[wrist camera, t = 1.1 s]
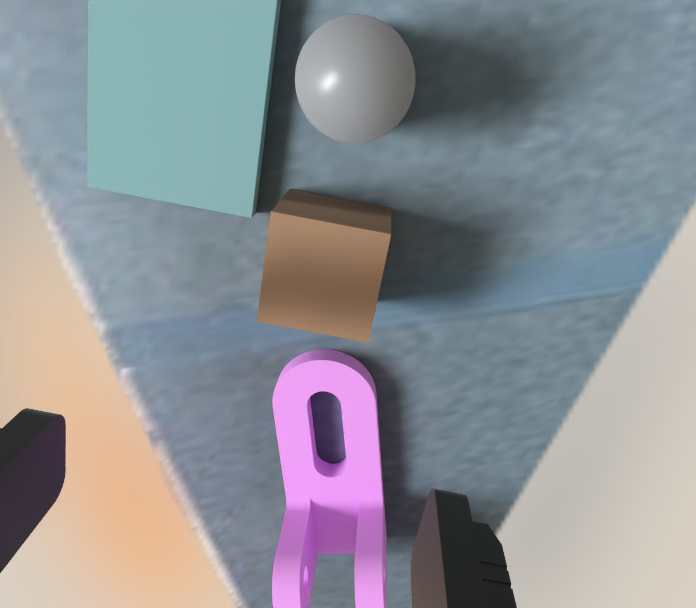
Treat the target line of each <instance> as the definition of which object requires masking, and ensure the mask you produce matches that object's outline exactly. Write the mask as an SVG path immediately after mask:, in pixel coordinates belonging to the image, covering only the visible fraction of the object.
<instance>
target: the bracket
mask: <svg viewBox="0 0 696 608" xmlns="http://www.w3.org/2000/svg"><path fill="white" fill-rule="evenodd" d="M320 391H326V392H330V393H332V394H334V395H335V396H336V397H337V398H338V399H339V401H340V403H341V409H342V419H343V430H344V440H345V450H346V458H345V459H344V460H343V461H342V462H339V463H335V464H332V463H327V462H325V461H323V460H322V459H320V457H319V456H318V454H317V451H316V442H315V434H314V426H313V417H312V409H311V401H310V396H311V395H313V394H314V393H316V392H320ZM273 412H274V419H275V426H276V432H277V439H278V446H279V453H280V459H281V466H282V473H283V480H284V487H285V493H286V512H285V516H284V520H283V525H282V529H281V533H280V537H279V541H278V546H277V550H276V554H275V559H274V566H273V578H272V599H273V608H309V606H310V599H311V592H312V586H313V579H314V572H315V566H316V559H317V554H340V553H355V603H356V608H386V584H387V533H386V519H385V505H384V492H383V478H382V464H381V450H380V436H379V422H378V409H377V395H376V387H375V383H374V381H373V378H372V376H371V374H370V373H369V371H368V370H367V369H366V368H365V367H364V365H362V364H361V363H360V362H359V361H358V360H356V359H355V358H353V357H352V356H350V355H348V354H345V353H343V352H339V351H335V350H327V349H321V350H313V351H309V352H306V353H303V354H301V355H299V356H297V357H296V358H294V359H293V360H292V361H290V362H289V363H288V364H287V365H286V366H285V368H284V369H283V371H282V372H281V374H280V377H279V379H278V382H277V385H276V387H275V390H274V394H273Z"/></svg>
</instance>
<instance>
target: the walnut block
mask: <svg viewBox="0 0 696 608" xmlns="http://www.w3.org/2000/svg"><path fill="white" fill-rule="evenodd" d="M390 238H391V208H389V207H383V206H378V205H373V204H368V203H362V202H357V201H352V200H347V199H341V198H336V197H331V196H325V195H320V194H315V193H310V192H304V191H299V190H294V189H289V191H288V192H287V193H286V194H285V195H284V197H283V198H282V199H281V200H280V201H279V203H278V204H277V205H276V206H275V207H274V209H273V210H272V211H271V215H270V223H269V231H268V239H267V246H266V254H265V262H264V270H263V278H262V285H261V293H260V301H259V309H258V317H257V322H262V323H267V324H272V325H278V326H283V327H288V328H294V329H299V330H304V331H309V332H315V333H320V334H325V335H331V336H336V337H341V338H346V339H352V340H357V341H362V342H369V337H370V333H371V328H372V323H373V318H374V314H375V309H376V304H377V299H378V295H379V290H380V285H381V281H382V276H383V271H384V266H385V262H386V257H387V252H388V247H389V243H390Z"/></svg>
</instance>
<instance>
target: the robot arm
mask: <svg viewBox="0 0 696 608" xmlns="http://www.w3.org/2000/svg"><path fill="white" fill-rule="evenodd" d="M65 427H66V425H65V419H64V417H63V416H62V415H59V414H54V413H48V412H44V411H38V410H33V409H28V408H27V409H24V410H22V411H21V412H20V413H18V414H17V415H16V416H15V417H14V418H13V419H12V420H11V421H10V422H9V423H8V424H6V425H5V426H4V427H3V428H2V429H1V428H0V573H1V571H2V570H3V569H4V568H5V566H6V565H7V564H8V563H9V561H10V560H11V558H12V557H13V556H14V555H15V553H16V552H17V550H18V549H19V548H20V547H21V545H22V544H23V543H24V542H25V540H26V539H27V538H28V537H29V535H30V534H31V533H32V531H33V530H34V529H35V527H36V526H37V525H38V524H39V522H40V521H41V520H42V518H43V517H44V516H45V514H46V513H47V512H48V511H49V509H50V508H51V507H52V505H53V504H54V502H55V501H56V499H57V498H58V496H59V494H60V492H61V489H62V486H63V483H64V479H65V446H66V439H65V437H66V436H65V435H66V432H65V431H66V428H65ZM411 589H412V608H517V607H516V603H515V599H514V594H513V590H512V589H511V582H510V577H509V573H508V571H507V565H506V560H505V556H504V552H503V548H502V545H501V543H500V542H499V540H498V539H497V537H496V536H495V534H494V533H493V531H492V530H491V528H490V527H489V525H488V524H482V523H477V522H472V519H471V513H470V508H469V502H468V498H467V496H466V495H463V494H458V493H452V492H447V491H442V490H437V489H431V491H430V493H429V496H428V499H427V502H426V505H425V509H424V512H423V515H422V519H421V522H420V525H419V529H418V532H417V535H416V539H415V542H414V547H413V552H412V560H411Z"/></svg>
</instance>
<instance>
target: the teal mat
mask: <svg viewBox="0 0 696 608" xmlns="http://www.w3.org/2000/svg"><path fill="white" fill-rule="evenodd" d="M280 7H281V0H88V115H87V187H92V188H97V189H103V190H108V191H113V192H118V193H124V194H129V195H134V196H139V197H145V198H150V199H155V200H160V201H166V202H171V203H176V204H181V205H187V206H192V207H197V208H202V209H208V210H213V211H218V212H224V213H229V214H234V215H239V216H245V217H250V218H252V217H253V216H254V215H255V214H256V208H257V200H258V192H259V183H260V175H261V166H262V158H263V150H264V141H265V133H266V125H267V116H268V108H269V99H270V91H271V83H272V74H273V66H274V58H275V49H276V41H277V33H278V24H279V16H280Z"/></svg>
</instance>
